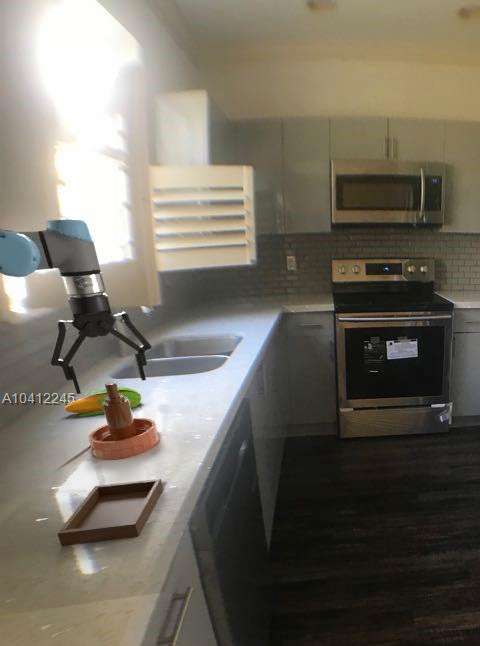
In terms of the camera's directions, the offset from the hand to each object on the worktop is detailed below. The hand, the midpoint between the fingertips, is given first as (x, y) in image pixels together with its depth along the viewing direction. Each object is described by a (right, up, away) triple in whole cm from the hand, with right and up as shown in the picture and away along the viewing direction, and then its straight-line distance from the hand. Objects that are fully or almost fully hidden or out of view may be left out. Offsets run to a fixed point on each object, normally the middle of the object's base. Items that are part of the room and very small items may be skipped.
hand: (112, 385), depth 108 cm
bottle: (0, -15, +6) cm, 16 cm away
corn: (-18, -8, +28) cm, 34 cm away
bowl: (0, -15, +6) cm, 16 cm away
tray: (+14, -25, -21) cm, 36 cm away
